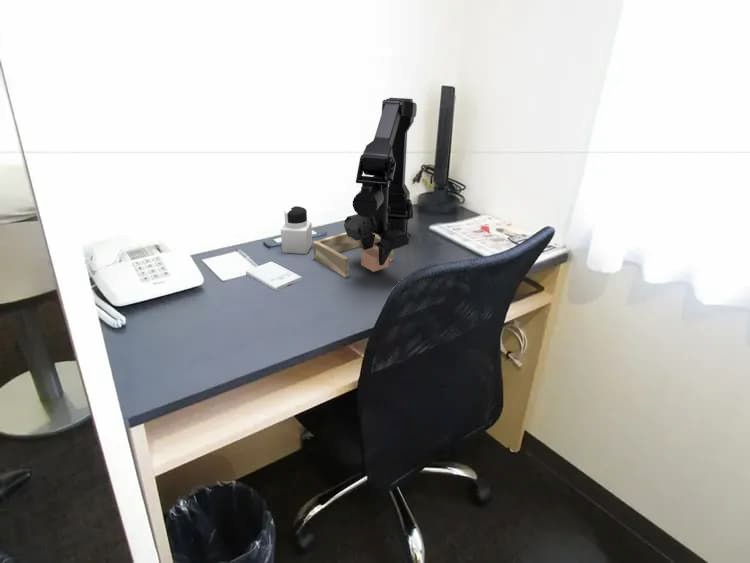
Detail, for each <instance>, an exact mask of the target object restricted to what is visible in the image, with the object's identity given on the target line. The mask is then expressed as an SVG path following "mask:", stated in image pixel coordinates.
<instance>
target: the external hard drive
mask: <svg viewBox="0 0 750 563" xmlns="http://www.w3.org/2000/svg"><path fill="white" fill-rule="evenodd" d="M245 275H246V276H248V277H250V278H252V279H254V280H255V281H258V282H259V283H261V284H263V285H264V286H266V287H267V288H270V289H271V290H273V291H275V292H277V291H279V290H281V289H284V288H287V286H290V285H293V284H295V283H298V282H300V281H303V276H300V275H299V274H297V273H295V272H293V271H291V270H289V269H287V268H285V267H283V266H282V265H280V264H277V263H275V262H273V261H269V262H267V263H264V264H261V265H258V266H255V267H253V268H250V269H247V270H246V271H245Z"/></svg>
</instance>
